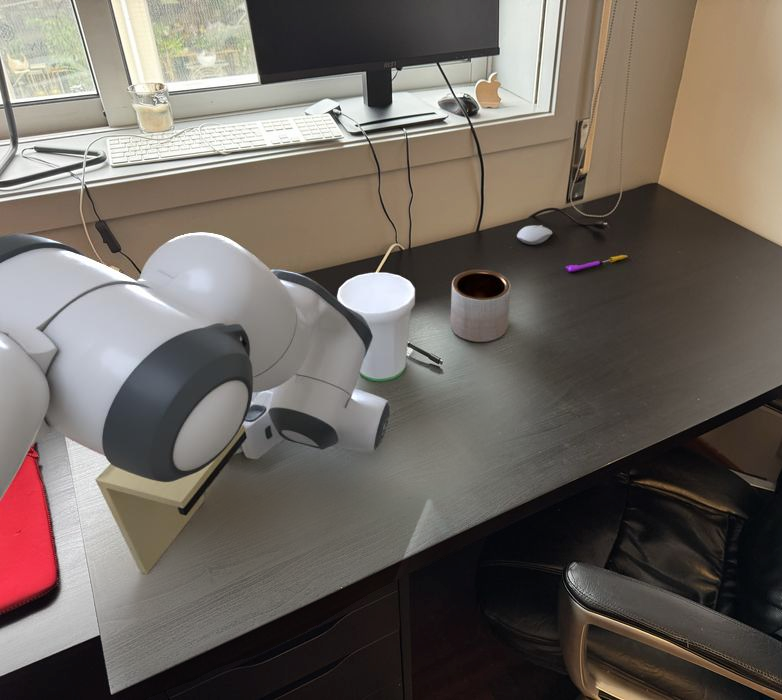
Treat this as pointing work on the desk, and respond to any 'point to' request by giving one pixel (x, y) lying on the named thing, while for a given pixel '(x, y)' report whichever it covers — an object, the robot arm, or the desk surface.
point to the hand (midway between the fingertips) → (198, 384)
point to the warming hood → (157, 504)
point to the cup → (382, 320)
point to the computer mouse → (534, 234)
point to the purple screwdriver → (593, 264)
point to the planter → (480, 305)
